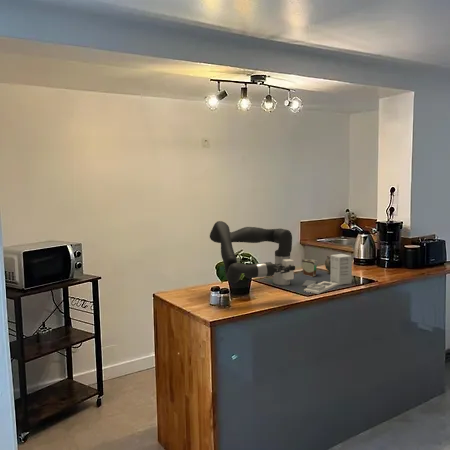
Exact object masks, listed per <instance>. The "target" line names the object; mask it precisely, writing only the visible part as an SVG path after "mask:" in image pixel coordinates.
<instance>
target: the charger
mask: <svg viewBox="0 0 450 450" xmlns="http://www.w3.org/2000/svg"><path fill="white" fill-rule="evenodd" d="M294 263H295V261H294V259H291V258H290V259H285V260H282V266H295V265H294ZM282 268H283V267H282ZM294 272H295V270H291V271H290V272H287V273H282V278H283V279H286V280H289V279H290V280H294V277H295V276H294V274H295V273H294Z"/></svg>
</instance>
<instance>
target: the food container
mask: <svg viewBox="0 0 450 450" xmlns="http://www.w3.org/2000/svg"><path fill="white" fill-rule="evenodd" d="M301 264H302V275H304V276H308V277H311V278H315V277H316V276H317V270H318V269H317V266H318V265H319V263H318V260H317V259H311V258H302V259H301Z"/></svg>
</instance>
